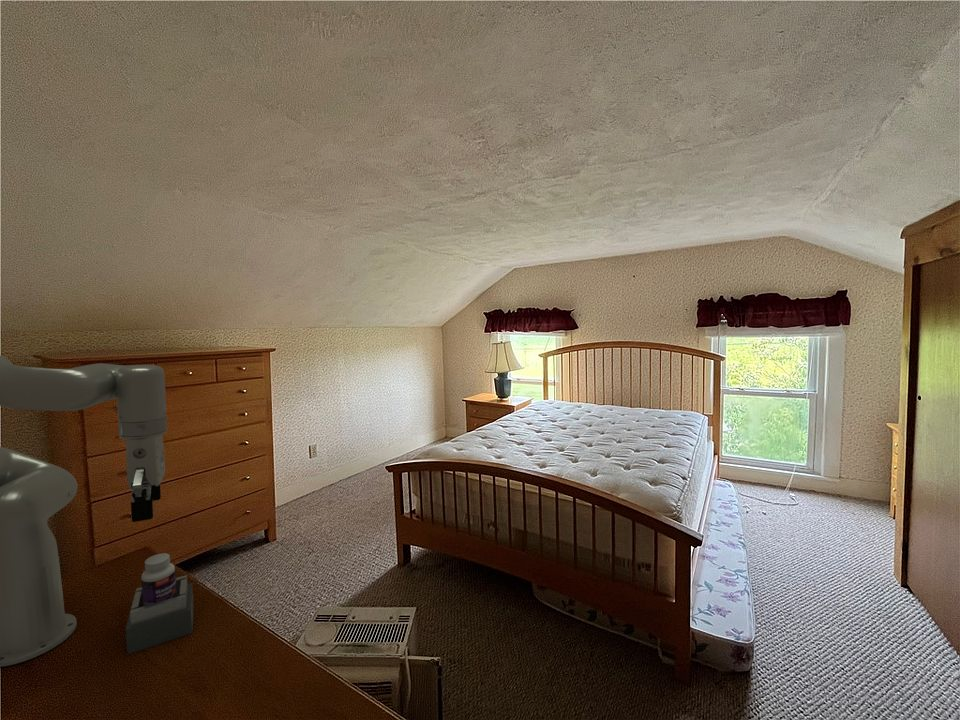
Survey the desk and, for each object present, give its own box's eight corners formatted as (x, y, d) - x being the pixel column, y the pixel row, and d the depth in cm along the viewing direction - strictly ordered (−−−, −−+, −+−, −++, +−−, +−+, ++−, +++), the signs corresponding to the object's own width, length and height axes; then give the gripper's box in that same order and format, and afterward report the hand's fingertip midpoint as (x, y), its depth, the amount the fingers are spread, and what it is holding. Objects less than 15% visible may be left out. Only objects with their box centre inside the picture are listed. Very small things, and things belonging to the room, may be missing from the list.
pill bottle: (159, 615, 82) (155, 568, 81) (136, 611, 83) (132, 564, 82) (184, 597, 87) (180, 552, 86) (162, 593, 88) (158, 549, 87)
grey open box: (127, 654, 79) (124, 617, 78) (135, 622, 87) (132, 587, 86) (192, 633, 84) (189, 597, 83) (193, 604, 92) (191, 572, 92)
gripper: (160, 436, 79) (164, 524, 80) (172, 416, 93) (175, 491, 95) (107, 440, 75) (112, 533, 76) (128, 419, 90) (132, 497, 91)
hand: (147, 509), depth 86 cm, fingers open, 9 cm apart
